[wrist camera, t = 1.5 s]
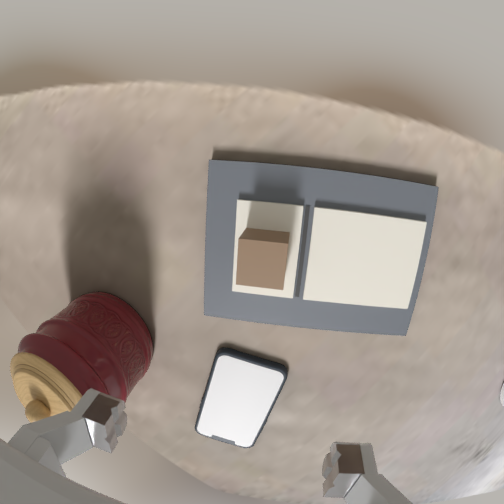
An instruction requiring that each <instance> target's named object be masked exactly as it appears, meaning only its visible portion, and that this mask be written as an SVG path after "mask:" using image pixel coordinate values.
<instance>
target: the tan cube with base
mask: <svg viewBox="0 0 504 504" xmlns="http://www.w3.org/2000/svg"><path fill="white" fill-rule="evenodd" d="M302 216H303V205H294V204H284V203H274V202H263V201H252V200H241V199H238V200H237V211H236V228H235V246H234V264H233V283H232V291H235V292H242V293H251V294H259V295H267V296H276V297H285V298H293V293H294V285H295V277H296V269H297V261H298V253H299V244H300V235H301V226H302Z"/></svg>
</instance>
